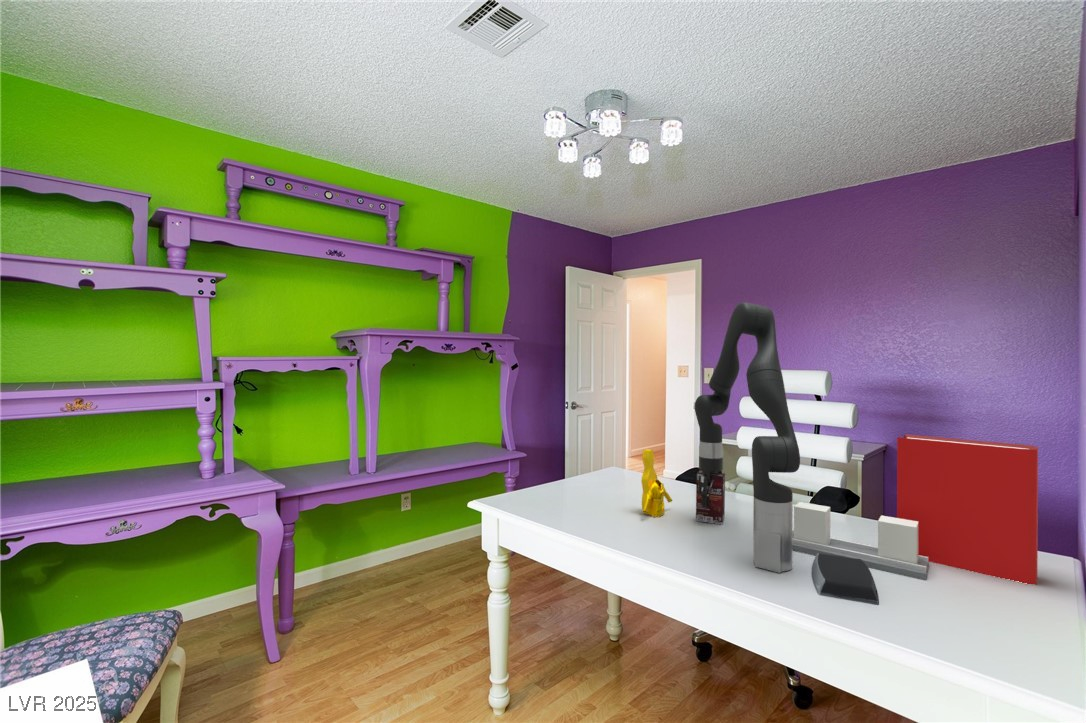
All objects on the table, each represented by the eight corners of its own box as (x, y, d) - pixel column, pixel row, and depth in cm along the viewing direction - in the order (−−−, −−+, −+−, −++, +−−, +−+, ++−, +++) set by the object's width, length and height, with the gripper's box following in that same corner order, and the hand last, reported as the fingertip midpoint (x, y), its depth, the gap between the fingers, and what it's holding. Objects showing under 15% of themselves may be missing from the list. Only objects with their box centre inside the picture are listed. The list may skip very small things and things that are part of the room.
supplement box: (695, 521, 166) (695, 473, 166) (698, 517, 171) (698, 470, 170) (723, 525, 162) (723, 476, 162) (725, 521, 167) (725, 472, 166)
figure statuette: (649, 522, 165) (649, 455, 165) (629, 517, 171) (629, 452, 170) (676, 510, 178) (677, 448, 178) (657, 506, 183) (657, 445, 183)
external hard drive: (814, 596, 115) (814, 578, 115) (809, 564, 133) (809, 549, 133) (882, 608, 110) (883, 589, 110) (868, 573, 127) (868, 557, 127)
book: (896, 554, 139) (897, 437, 138) (903, 546, 144) (904, 434, 144) (1036, 586, 119) (1036, 450, 119) (1037, 576, 124) (1038, 446, 124)
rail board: (925, 580, 122) (925, 532, 122) (783, 548, 143) (783, 507, 143) (928, 564, 131) (928, 520, 131) (794, 536, 152) (794, 498, 152)
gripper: (713, 460, 158) (713, 511, 159) (730, 453, 169) (730, 501, 170) (690, 457, 163) (690, 507, 163) (708, 450, 174) (708, 497, 174)
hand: (710, 504), depth 166 cm, fingers open, 8 cm apart
